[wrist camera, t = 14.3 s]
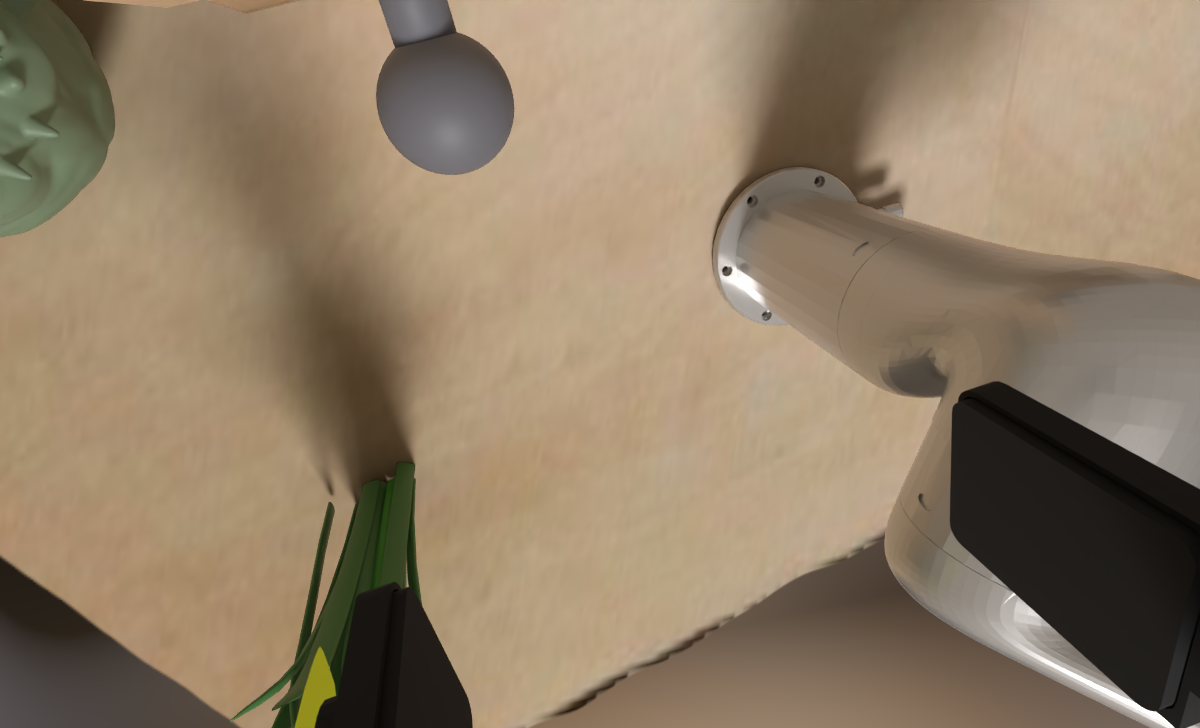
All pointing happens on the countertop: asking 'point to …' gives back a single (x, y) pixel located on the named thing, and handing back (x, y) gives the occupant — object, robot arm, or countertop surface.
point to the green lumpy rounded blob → (47, 114)
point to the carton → (250, 4)
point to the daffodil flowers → (348, 593)
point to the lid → (433, 89)
